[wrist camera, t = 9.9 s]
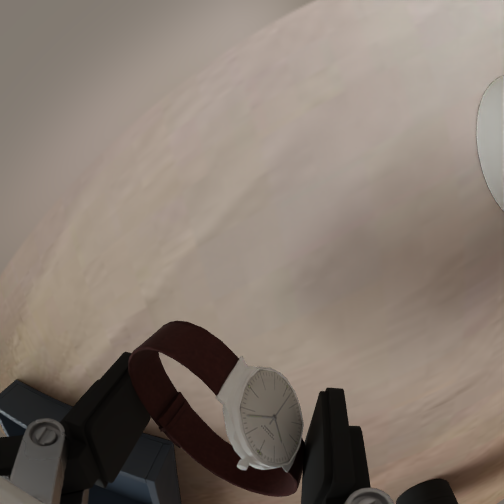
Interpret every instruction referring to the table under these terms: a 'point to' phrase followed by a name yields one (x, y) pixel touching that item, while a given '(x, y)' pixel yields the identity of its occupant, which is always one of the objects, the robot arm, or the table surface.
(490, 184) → the cup
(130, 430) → the robot arm
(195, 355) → the watch
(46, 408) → the tray
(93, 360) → the table surface
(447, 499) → the drinking cup
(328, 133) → the table surface
